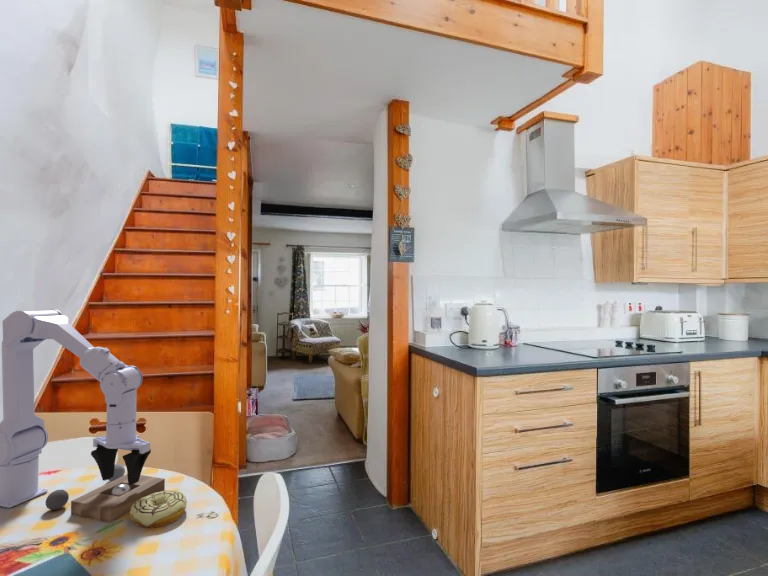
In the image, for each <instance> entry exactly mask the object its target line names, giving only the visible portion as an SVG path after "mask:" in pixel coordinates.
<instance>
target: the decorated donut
mask: <svg viewBox="0 0 768 576" xmlns="http://www.w3.org/2000/svg"><path fill="white" fill-rule="evenodd" d="M187 503H188V501H187V497H186V495H185V494H184V493H183V492H180V491H176V490H165V491H161V492H156V493H152V494H150V495H148V496H145V497H143V498H141V499H139V500H137V501H136V502H135V503H134V504H133V505H132V507H131V510H130V512H129V518H130V519H131V521H132V522H133V523H134V524H135V525H136V526H138V527H141V528H145V527H146V528H154V529H155V528H158V527H162V526H166V525H168V524H173V523H174V522H176V521H177V520H178V519H180V518H181V517H182V516H183V515H184V514H185V510H186V509H187Z"/></svg>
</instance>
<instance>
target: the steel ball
mask: <svg viewBox="0 0 768 576" xmlns="http://www.w3.org/2000/svg"><path fill="white" fill-rule="evenodd" d="M129 491H131V488H130V486H128V485H127V484H120V485H117V486H116V487H115V488H114V489H113V490H112V492H111V494H110V495H112V496H118V497H119V496H121V495H123V494H125V493H127V492H129Z"/></svg>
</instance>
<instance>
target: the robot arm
mask: <svg viewBox="0 0 768 576" xmlns="http://www.w3.org/2000/svg"><path fill="white" fill-rule="evenodd" d="M46 340H53V341H55V342H56V343H58V344H59V345H61V346H62V347H63V348H66V350H68V351H69V352H71V353H73V354H74V355H75V356H77V358H79V366H80V367H81V368H82V369H83V370H85V371H86V372H87V373H88V374H90V375H91V376H92V377H93V378H95V380H97V381H98V382H99V387H100V390H101V392H102V393H103V395H104V402H105V403H106V429H105V431H106V433H105V435H100V436H97V437H94V438H93V439H92V440H93V441H92V447H93V448H95V450H92V451H91V452H90V456H91V457H92V458H93V459H94V461H95V462H96V464H97V467H98V469H99V472H100V475H101V479H102V481H107V480H108V479H110V478H112V477H113V475H114V468H115V465H116V459H117V454H118V451H119V450H122V451H123V450H125V451H131V452H129V453H126V454H124V455H122V459H123V462H124V463H125V467H126V474H127V476H128V484H129V485H133V484H135V483H137V482H138V481H139V478H140V475H142V471H143V468H144V465H145V463H146V461H147V459H148V457H149V456H150V454H151V452H152V449H151V442H150V441H146V440H145V439H141V438H140V435H139V434H137V399H138V398H137V395H138V393H137V390H138V388H140V387H141V386H142V383H143V381H144V380H143V373H142V371H141V370H140V369H139V368H138V366H135V365H127V364H126V363H125V362H123V361H121V360H119V359H118V358H117V357H116V356H115V355H114V354H112V353H111V350H110V349H109V348H108V347H103V346H94V345H92V344H91V343H90V342H89V341H88V340H87V339H86V338H85V337H84V336H83V335H82V334H81V333H80V332H79V331H78V330H77V329H76V328H75V327H74V326H73V325H72V324H70V318H69V317H68V316H66V315H64V314H63V312H62V311H60V310H59V309H55V308H54V309H52V308H51V309H45V310H44V309H43V310H42V309H41V310H40V309H39V310H16V311H13V312H11V313H9V314H8V315H7V316H6V317H5V318H4V319H3V320H2V342H1V372H2V373H1V376H2V377H1V379H2V381H1V382H2V418H3V419H2V420H1V421H0V507H4V508H7V509H10V508H13V507H16V506H18V505H20V504H22V503H24V502H27V501H29V500H31V499H33V498H35V497H38V496H41V495H43V494H45V493H47V492H48V490H49V489H47V488H43V487H39V466H40V465H39V461H40V459H39V457H40V456H39V455H41V454H42V453H43V452H42V451H43V448H45V446H47V444H48V442H49V433H48V431H47V429H46V426H45V420H44V419H43V417H42V418H41V417H40V416H37V415H36V413H35V375H34V374H35V372H34V350H35V348H37V347H39V345H40V344H41V343H42V342H44V341H46Z"/></svg>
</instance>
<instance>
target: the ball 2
mask: <svg viewBox="0 0 768 576" xmlns="http://www.w3.org/2000/svg"><path fill="white" fill-rule="evenodd" d="M125 470H126V469H125V467H124V465H122V464H119V463H117V464H116V463H115V468H114V475H113V477H112V478H110V479H107V480H108V481H109V482H112V481H114V480H116V479H118V478H120V477H122V476H124V475H125V473H126V471H125Z"/></svg>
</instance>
